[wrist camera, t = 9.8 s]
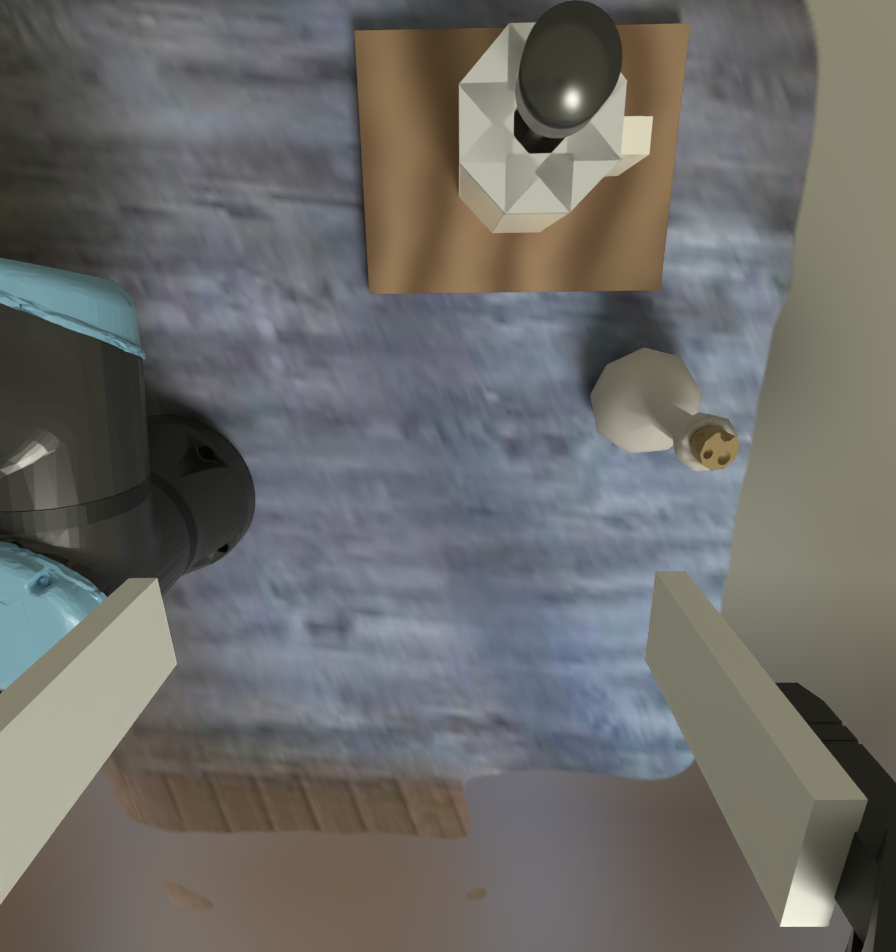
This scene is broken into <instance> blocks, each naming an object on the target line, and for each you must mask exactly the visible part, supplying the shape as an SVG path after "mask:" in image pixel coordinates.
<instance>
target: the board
mask: <svg viewBox="0 0 896 952" xmlns="http://www.w3.org/2000/svg"><path fill="white" fill-rule="evenodd" d="M615 26H616V28H617V30H618V33H619V36H620V39H621V44H622V53H623V54H622V67H621V74H622V75H623V76H624V77H625V79H626V80H627V86H626V98H625V110H624V116H653V123H652V133H651V143H650V153H649V155H648V156H646V157H645V158H643V159H642V160H640V161H639V162H637V163H636V164H635V165H633V166H632V167H630V168H629V169H627V170H626V171H624V172H623V173H621V174H620V175H618V176H604V177H603V178H602V179H601V180H600V181H599V182H598V184H597V185H596V186H595V187H594V188H593V189H592V190H591V191H590V192H589V193H588V194H587V195H586V196H585V197H584V198H583V199H582V200H581V201H580V202H579V203H578V204H577V206H576V207H575V208H574V209H573V210H572V211H571V212H570V213H569V214H567V215H566V216H564V217H563V218H561V219H559V220H558V221H556V222H555V223H553V224H552V225H550V226H549V227H547V228H545V229H544V230H542V231H541V232H539V233H538V232H530V233H492V232H491V231H490V230H489V229H488V228H487V227H486V226H485V225H484V224H483V222H482V221H481V220H480V219H479V218H478V217H477V216H476V215H475V214H474V213H473V212H472V210H471V209H470V208H469V207H468V206H467V205H466V204H465V203H464V202H463V201H462V200H461V198H460V197H459V143H458V141H459V83H460V82H461V81H462V80H463V79H464V77H465V76H466V75H467V74H468V73H469V71H470V70H471V69H472V68H473V67H474V65H475V64H476V63H477V62H478V60H479V59H480V58H481V57H482V56H483V54H484V53H485V52H486V51H487V50H488V48H489V47H490V46H491V45H492V44H493V42H494V41H495V40H496V39H497V38H498V36H499V35H500V34H501V33H502V31H503V30H504V29H505V28H506V27H498V28H453V29H407V30H362V31H354V33H355V51H356V69H357V86H358V104H359V121H360V139H361V157H362V174H363V192H364V209H365V227H366V245H367V262H368V280H369V294H400V293H483V292H566V291H649V290H660V287H661V278H662V269H663V260H664V251H665V243H666V234H667V225H668V216H669V207H670V198H671V189H672V180H673V171H674V162H675V153H676V144H677V135H678V127H679V118H680V109H681V100H682V91H683V82H684V73H685V64H686V55H687V46H688V37H689V28H690V23H679V24H634V25H615Z"/></svg>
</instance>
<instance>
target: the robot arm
mask: <svg viewBox="0 0 896 952" xmlns="http://www.w3.org/2000/svg"><path fill="white" fill-rule="evenodd" d="M143 359H146V354H145V352H144V350H142V349H141V344H140V336H139V328H138V320H137V312H136V307H135V304H134V302H133V300H132V298H131V296H130V295H129V294H128V293H127V291H126V290H124V289H123V288H122V287H121V286H120V285H118V284H117V283H115V282H113V281H110V280H108V279H104V278H100V277H96V276H91V275H86V274H82V273H77V272H72V271H67V270H62V269H57V268H52V267H47V266H42V265H36V264H31V263H26V262H20V261H15V260H10V259H5V258H0V688H1V689H5V690H4V691H0V904H1V903H2V901H3V900H4V898H5V897H6V896H7V894H8V893H9V892H10V890H11V889H12V887H13V886H14V885H15V884H16V882H17V881H18V879H19V878H20V877H21V875H22V874H23V873H24V871H25V870H26V868H27V867H28V866H29V864H30V863H31V862H32V860H33V859H34V858H35V856H36V855H37V854H38V852H39V851H40V850H41V848H42V847H43V845H44V844H45V843H46V841H47V840H48V839H49V837H50V836H51V835H52V833H53V832H54V830H55V829H56V828H57V826H58V825H59V824H60V822H61V821H62V820H63V818H64V817H65V816H66V814H67V813H68V811H69V810H70V809H71V807H72V806H73V805H74V803H75V802H76V801H77V799H78V798H79V796H80V795H81V793H82V792H83V791H84V790H85V788H86V787H87V786H88V784H89V783H90V781H91V780H92V779H93V777H94V776H95V775H96V773H97V772H98V771H99V769H100V768H101V767H102V765H103V764H104V762H105V761H106V760H107V758H108V757H109V756H110V754H111V753H112V752H113V750H114V749H115V747H116V746H117V745H118V743H119V742H120V741H121V739H122V738H123V737H124V735H125V734H126V733H127V731H128V730H129V728H130V727H131V726H132V724H133V723H134V722H135V720H136V719H137V718H138V716H139V715H140V713H141V712H142V711H143V709H144V708H145V707H146V705H147V704H148V703H149V701H150V700H151V699H152V697H153V696H154V694H155V693H156V692H157V690H158V689H159V688H160V686H161V685H162V684H163V682H164V681H165V679H166V678H167V677H168V675H169V674H170V673H171V671H172V670H173V669H174V667H175V666H176V665H177V662H176V658H175V653H174V649H173V644H172V640H171V636H170V631H169V627H168V622H167V618H166V614H165V609H164V605H163V601H162V596H163V595H164V594H165V593H166V592H167V591H168V590H169V589H170V588H171V587H172V585H173V584H174V583H175V582H176V581H177V580H178V579H179V578H180V577H181V576H182V575H184V574H187V573H190V572H192V571H195V570H198V569H200V568H203V567H205V566H208V565H210V564H212V563H214V562H216V561H218V560H220V559H221V558H223V557H224V556H225V555H227V554H228V553H229V552H230V551H231V550H232V549H233V548H234V547H235V546H236V544H237V543H238V542H239V541H240V540H241V539H242V537H243V536H244V535H245V533H246V532H247V530H248V528H249V526H250V524H251V521H252V518H253V514H254V509H255V491H254V486H253V482H252V478H251V476H250V473H249V471H248V468H247V466H246V465H245V463H244V461H243V459H242V458H241V456H240V455H239V454H238V452H237V451H236V450H235V449H234V448H233V447H232V445H231V444H230V443H229V442H228V441H226V440H225V439H224V438H223V437H222V436H221V435H219V434H218V433H216V432H215V431H213V430H212V429H210V428H208V427H207V426H205V425H203V424H201V423H198V422H196V421H193V420H190V419H187V418H183V417H178V416H170V415H158V416H150V417H147V412H146V399H145V385H144V372H143ZM645 660H646V662H647V664H648V666H649V668H650V670H651V672H652V674H653V676H654V678H655V680H656V682H657V684H658V686H659V688H660V690H661V692H662V694H663V696H664V698H665V700H666V702H667V704H668V706H669V708H670V710H671V711H672V713H673V715H674V717H675V719H676V721H677V723H678V725H679V727H680V729H681V731H682V733H683V735H684V737H685V739H686V741H687V743H688V745H689V747H690V749H691V751H692V753H693V755H694V757H695V759H696V761H697V763H698V765H699V767H700V769H701V771H702V773H703V775H704V777H705V779H706V781H707V783H708V785H709V787H710V789H711V791H712V793H713V795H714V797H715V799H716V801H717V803H718V805H719V807H720V809H721V811H722V813H723V814H724V817H725V819H726V821H727V823H728V824H729V827H730V828H731V830H732V832H733V834H734V836H735V838H736V840H737V842H738V844H739V846H740V848H741V850H742V852H743V854H744V856H745V858H746V860H747V862H748V864H749V866H750V868H751V870H752V872H753V874H754V876H755V878H756V880H757V882H758V884H759V886H760V888H761V890H762V892H763V894H764V896H765V898H766V900H767V902H768V904H769V906H770V908H771V910H772V912H773V914H774V916H775V918H776V920H777V922H778V924H779V926H782V927H815V926H816V927H823V926H825V927H827V926H828V925H829V921H830V918H831V915H832V912H833V909H834V906H835V902H836V901H837V903H838V905H839V906H840V908H841V909H842V911H843V913H844V914H845V916H846V917H847V919H848V921H849V922H850V924H851V926H852V927H853V930H852V933H851V936H850V939H849V942H848V945H847V948H846V951H845V952H896V783H895V782H894V780H893V779H892V778H891V777H890V776H889V775H888V774H887V772H886V771H885V770H884V769H883V768H882V767H881V766H880V765H879V763H878V762H877V761H876V760H875V759H874V758H873V757H872V755H871V754H870V753H869V752H868V751H867V750H866V749H865V747H864V746H863V745H862V744H859V743H858V740H857V738H855V736H854V735H853V734H852V733H851V732H850V730H848V728H847V727H846V726H843V725H842V721H841V720H840V719H839V718H838V717H837V716H836V715H835V713H834V712H833V711H832V710H831V709H830V708H829V707H828V705H827V704H826V703H825V702H824V701H823V700H821V699H820V698H819V697H817V696H816V695H814V694H813V693H811V692H810V691H808V690H807V689H806V688H804V687H803V686H801V685H800V684H798V683H774V681H773V680H772V679H771V678H770V676H769V675H768V674H767V673H766V671H765V670H764V669H763V668H762V667H761V665H760V664H759V663H758V661H757V660H756V659H755V658H754V656H753V655H752V654H751V653H750V651H749V650H748V649H747V648H746V646H745V645H744V644H743V643H742V641H741V640H740V639H739V638H738V637H737V635H736V634H735V633H734V632H733V630H732V629H731V628H730V626H729V625H728V624H727V623H726V621H725V620H724V619H723V618H722V616H721V615H720V614H719V613H718V611H717V610H716V609H715V608H714V606H713V605H712V604H711V603H710V601H709V600H708V599H707V598H706V596H705V595H704V594H703V593H702V591H701V590H700V589H699V588H698V586H697V585H696V584H695V583H694V581H693V580H692V579H691V578H690V576H689V575H688V574H687V573H686V571H657V572H656V573H655V581H654V590H653V598H652V607H651V615H650V623H649V632H648V640H647V649H646V657H645Z"/></svg>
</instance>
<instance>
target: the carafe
mask: <svg viewBox="0 0 896 952" xmlns="http://www.w3.org/2000/svg"><path fill="white" fill-rule="evenodd" d="M534 25H535V23H509V24H508V25H507V27H506V28H505V29H504V30H503V31H502V33H501V34H500V35H499V36H498V38H497V39H496V40H495V41H494V42H493V44H492V45H491V46H490V47H489V48H488V50H487V51H486V52H485V53H484V54H483V56H482V57H481V58H480V59H479V60H478V62H477V63H476V64H475V65H474V67H473V68H472V69H471V70H470V71H469V73H468V74H467V75H466V76H465V77H464V79H463V80H462V81H461V82H460V83H459V141H458V143H459V197H460V198H461V200H462V201H463V202H464V203H465V204H466V205H467V206H468V207H469V208H470V209H471V210H472V212H473V213H474V214H475V215H476V216H477V217H478V218H479V219H480V220H481V221H482V222H483V224H484V225H485V226H486V227H487V228H488V229H489V230H490V231H491V232H492V233H530V232H538V233H539V232H541V231H542V230H544V229H545V228H547V227H549V226H550V225H552V224H553V223H555V222H556V221H558V220H559V219H561V218H563V217H564V216H566V215H567V214H569V213H570V212H571V211H572V210H573V209H574V208H575V207H576V206H577V204H578V203H579V202H580V201H581V200H582V199H583V198H584V197H585V196H586V195H587V194H588V193H589V192H590V191H591V190H592V189H593V188H594V187H595V186H596V185H597V184H598V182H599V181H600V180H601V179H602V178H603V177H604V176H618V175H620V174H621V173H623V172H624V171H626V170H627V169H629V168H630V167H632V166H633V165H635V164H636V163H637V162H639V161H640V160H642V159H643V158H645V157H646V156H648V155H649V153H650V143H651V133H652V123H653V116H624V110H625V98H626V86H627V80H626V79H625V77H624V76H623V75H622V74H621V72H620V76H619V79H618V82H617V84H616V86H615V88H614V90H613V92H612V94H611V95H610V97H609V98H608V99H607V100H606V102H605V103H604V104H603V105H602V107H601V108H600V109H599V110H598V112H597V113H596V114H595V115H594V117H593V118H592V119H591V120H590V122H589V123H588V124H587V125H586V126H585V127H584V128H582V129H581V130H580V131H578V132H577V133H575V134H573V135H571V136H568V137H564V138H548V137H543V139H542V140H541V142H540V144H539V145H538V147H537V149H536V151H535V152H534V154H529V153H528V152H527V151H526V150H525V149H524V147H523V146H522V145H521V144H522V142H523V139H524V137H525V135H526V133H527V130H528V128H529V127H528V125H527V124H526V123H525V122H524V120H523V119H522V117H521V115H520V113H519V111H518V108H517V104H516V99H515V80H516V75H517V72H518V68H519V64H520V61H521V57H522V54H523V50H524V47H525V43H526V40H527V38H528V35H529V33H530V31H531V30H532V28H533V26H534Z"/></svg>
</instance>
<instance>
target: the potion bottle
mask: <svg viewBox="0 0 896 952" xmlns="http://www.w3.org/2000/svg"><path fill="white" fill-rule="evenodd" d="M701 394H702V393H701V391H700V389H699V388H698V386H697V384H696V383H695V381H694V379H693V377H692V376H691V374H690V372H689V371H688V369H687V367H686V365H685V364H684V362H683V361H682V359H681V358H680V357H679V356H675V355H672V354H668V353H664V352H660V351H656V350H652V349H649V348H645V347H644V348H642V349H639V350H637V351H635V352H633V353H631V354H629V355H626V356H624V357H622V358H620V359H618V360H616V361H614V362H612V363H609V364H607V365H606V366H605V368H604V370H603V372H602V374H601V376H600V378H599V379H598V381H597V383H596V385H595V387H594V389H593V391H592V392H591V403H592V407H593V412H594V417H595V422H596V427H597V432H598V433H600V434H601V435H603V436H604V437H606V438H607V439H608V440H610V441H611V442H613V443H614V444H616V445H617V446H619V447H620V448H621V449H623V450H624V451H627V452H632V453H638V452H648V451H659V450H668V449H669V448H670V447H671V446H672V445H673V444H674V451H675V454H676V455H677V457H678V458H679V460H680V461H681V462H683V463H684V464H686V465H687V466H689V467H690V468H691V469H693V470H694V471H705V470H711V471H712V470H718V469H724V468H725V467H726V466H727V465H728V464H730V463H731V462H732V461H733V460H734V459H735V456H736V454H737V452H738V450H739V444H738V439H737V438H738V435H737V433H736V431H735V430H734V428H733V426H732V424H731V423H730V421H729V419H725V418H722V417H718V416H714V415H710V414H705V413H700V412H699V413H697V412H698V408H699V403H700V399H701Z"/></svg>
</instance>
